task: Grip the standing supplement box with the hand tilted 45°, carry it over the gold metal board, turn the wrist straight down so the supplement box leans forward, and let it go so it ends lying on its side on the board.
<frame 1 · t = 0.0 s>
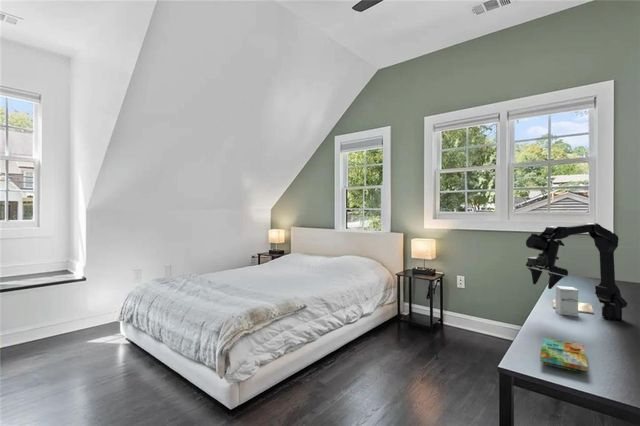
hand: (541, 286, 149), 15 cm above the table, tool pointing down, fingers open, 9 cm apart
supplement box: (566, 313, 160), on the table
gold metal board: (572, 306, 170), on the table
puzzle game: (563, 362, 109), on the table
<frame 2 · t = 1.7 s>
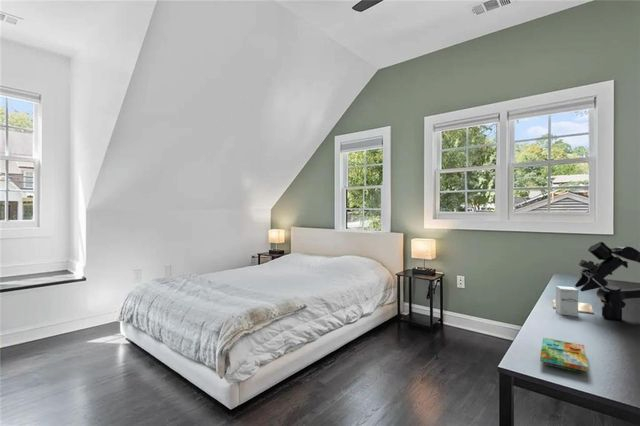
hand: (578, 288, 158), 13 cm above the table, tool tilted 45°, fingers open, 9 cm apart
nothing on the table moved.
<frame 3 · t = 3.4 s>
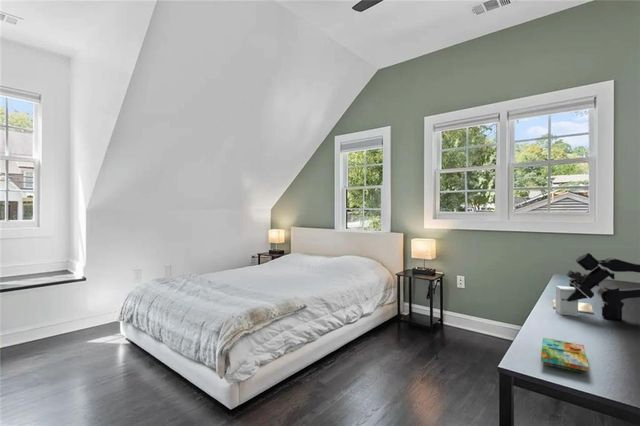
hand: (565, 298, 160), 7 cm above the table, tool tilted 45°, fingers closed on supplement box, 7 cm apart
supplement box: (566, 313, 160), on the table, touching gripper
everything else where it was.
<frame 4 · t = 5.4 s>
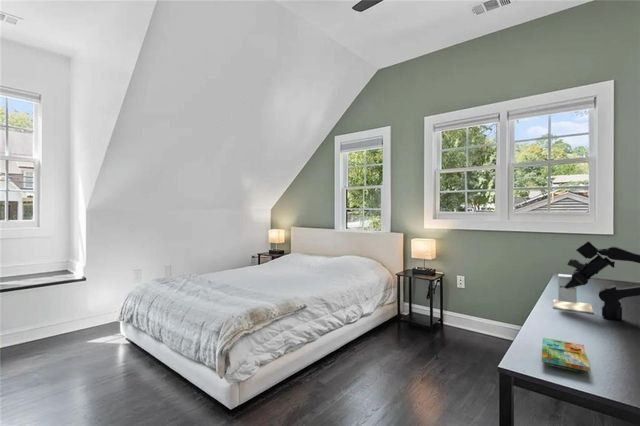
hand: (566, 286, 163), 12 cm above the table, tool tilted 45°, fingers closed on supplement box, 7 cm apart
supplement box: (567, 301, 163), point 5 cm above the table, touching gripper
everything else where it was.
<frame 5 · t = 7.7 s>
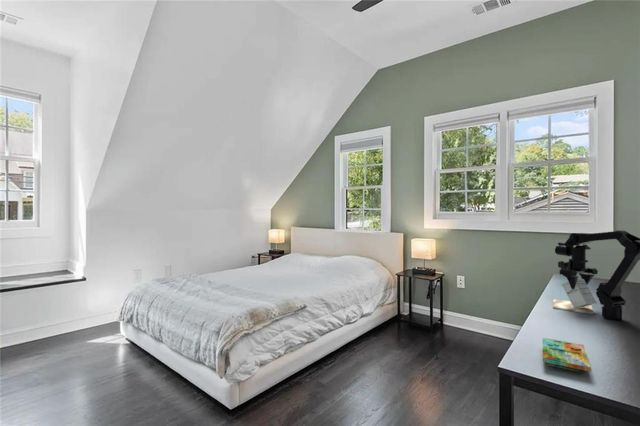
hand: (578, 288, 166), 10 cm above the table, tool pointing down, fingers closed on supplement box, 7 cm apart
supplement box: (585, 306, 163), point 3 cm above the table, touching gold metal board, gripper
everything else where it was.
when the fingers open (10 cm above the table, at t = 8.4 s): supplement box moves 4 cm, resting on gold metal board.
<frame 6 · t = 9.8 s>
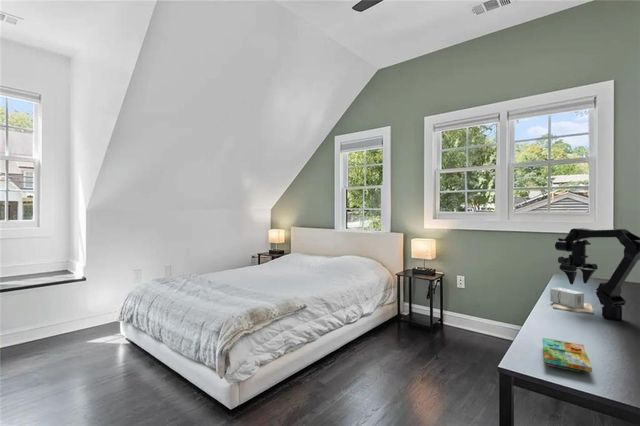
hand: (578, 283, 167), 13 cm above the table, tool pointing down, fingers open, 9 cm apart
supplement box: (579, 300, 166), point 5 cm above the table, touching gold metal board
everything else where it was.
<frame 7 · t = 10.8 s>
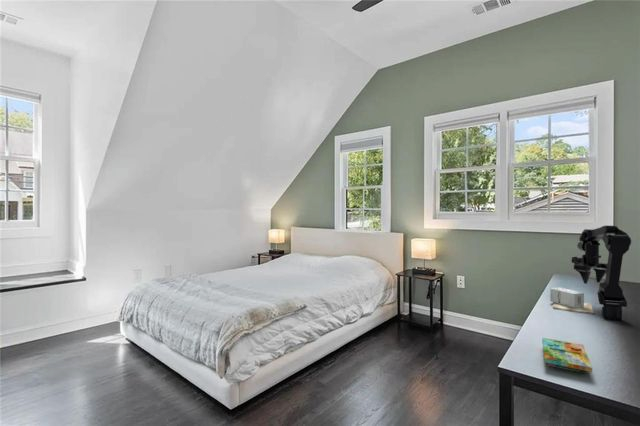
hand: (591, 283, 172), 12 cm above the table, tool pointing down, fingers open, 9 cm apart
nothing on the table moved.
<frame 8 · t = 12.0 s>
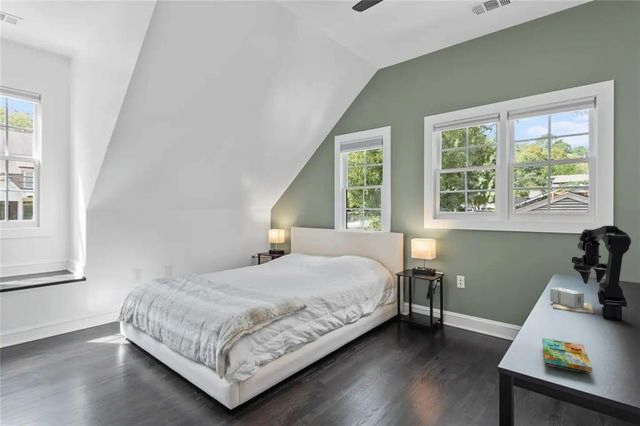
hand: (592, 283, 172), 12 cm above the table, tool pointing down, fingers open, 9 cm apart
nothing on the table moved.
at the end: supplement box tilted 90°; supplement box inside the target area on the gold metal board (1.4 cm from its centre), point 4.5 cm above the gold metal board's base; supplement box touching gold metal board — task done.
